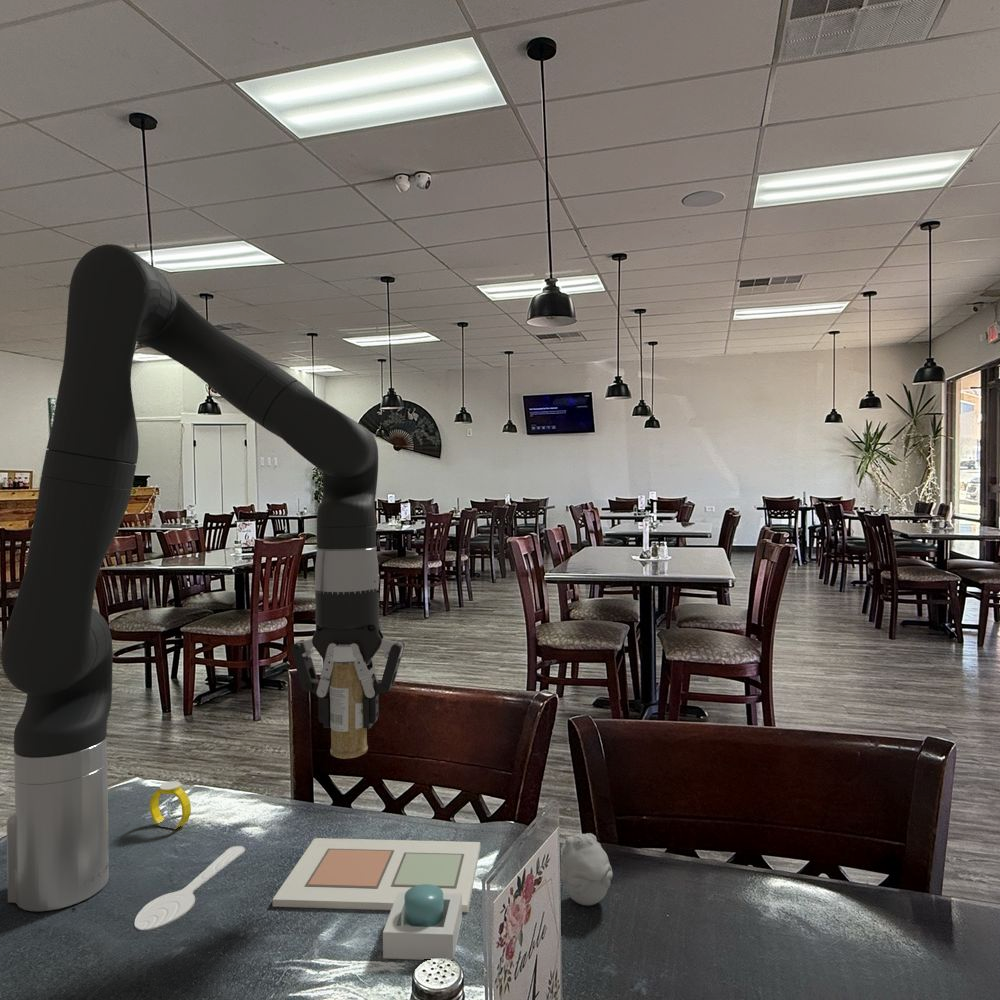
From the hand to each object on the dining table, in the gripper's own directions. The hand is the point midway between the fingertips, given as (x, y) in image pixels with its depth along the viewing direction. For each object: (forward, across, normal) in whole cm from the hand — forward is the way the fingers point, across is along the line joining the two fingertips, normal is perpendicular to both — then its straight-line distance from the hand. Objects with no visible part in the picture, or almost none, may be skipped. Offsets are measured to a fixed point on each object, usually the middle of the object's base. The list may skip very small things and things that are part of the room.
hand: (348, 725), depth 85 cm
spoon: (+19, -18, -3) cm, 26 cm away
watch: (+18, -29, +11) cm, 36 cm away
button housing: (+18, +11, -12) cm, 24 cm away
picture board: (+18, +4, 0) cm, 19 cm away
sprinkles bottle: (+3, 0, 0) cm, 3 cm away
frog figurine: (+18, +28, -4) cm, 34 cm away
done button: (+16, +11, -11) cm, 23 cm away
